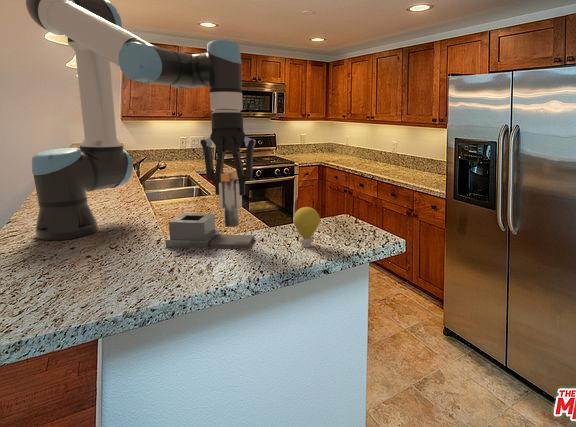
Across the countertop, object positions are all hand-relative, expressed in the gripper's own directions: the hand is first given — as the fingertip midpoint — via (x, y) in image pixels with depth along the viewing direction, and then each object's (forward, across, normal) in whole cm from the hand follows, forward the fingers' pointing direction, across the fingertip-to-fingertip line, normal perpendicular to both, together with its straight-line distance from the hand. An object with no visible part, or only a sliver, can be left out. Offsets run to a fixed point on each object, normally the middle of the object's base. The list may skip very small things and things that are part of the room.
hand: (231, 207), depth 93 cm
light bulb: (+10, -19, 0) cm, 21 cm away
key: (+5, 0, 0) cm, 5 cm away
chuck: (+9, +10, 0) cm, 14 cm away
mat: (+9, 0, 0) cm, 9 cm away
